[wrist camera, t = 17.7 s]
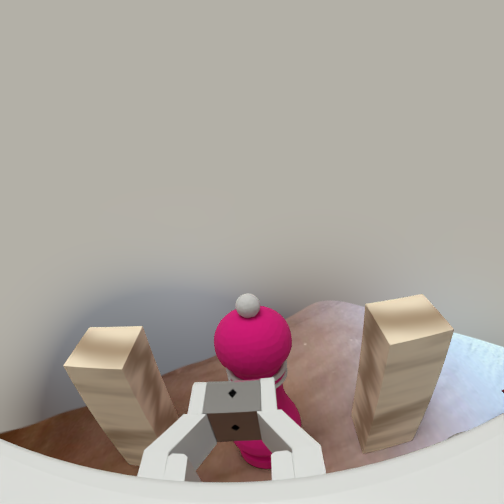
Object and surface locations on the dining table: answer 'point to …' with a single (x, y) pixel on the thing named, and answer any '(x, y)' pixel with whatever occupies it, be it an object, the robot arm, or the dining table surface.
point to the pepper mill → (256, 359)
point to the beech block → (122, 387)
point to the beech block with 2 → (397, 369)
